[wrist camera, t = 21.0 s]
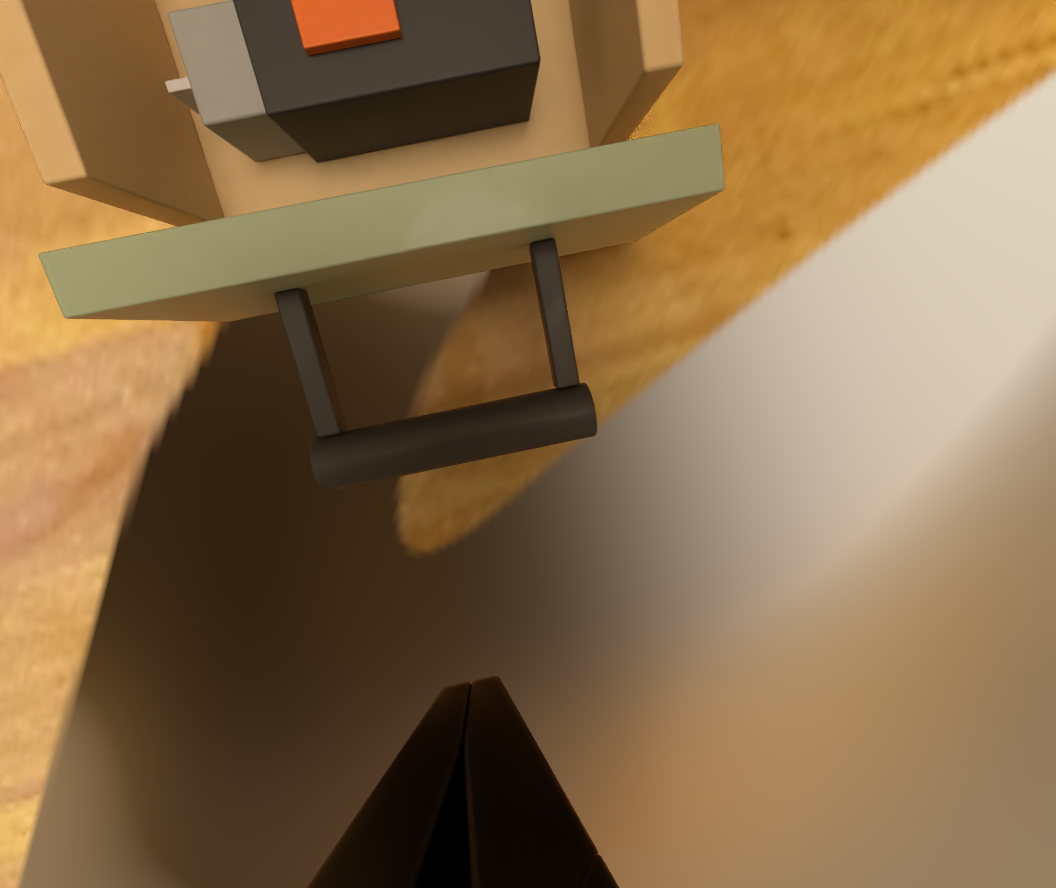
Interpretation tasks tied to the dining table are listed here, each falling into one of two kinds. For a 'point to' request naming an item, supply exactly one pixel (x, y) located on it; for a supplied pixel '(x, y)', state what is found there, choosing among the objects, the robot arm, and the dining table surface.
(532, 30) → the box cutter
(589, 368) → the dining table surface
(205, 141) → the drawer
